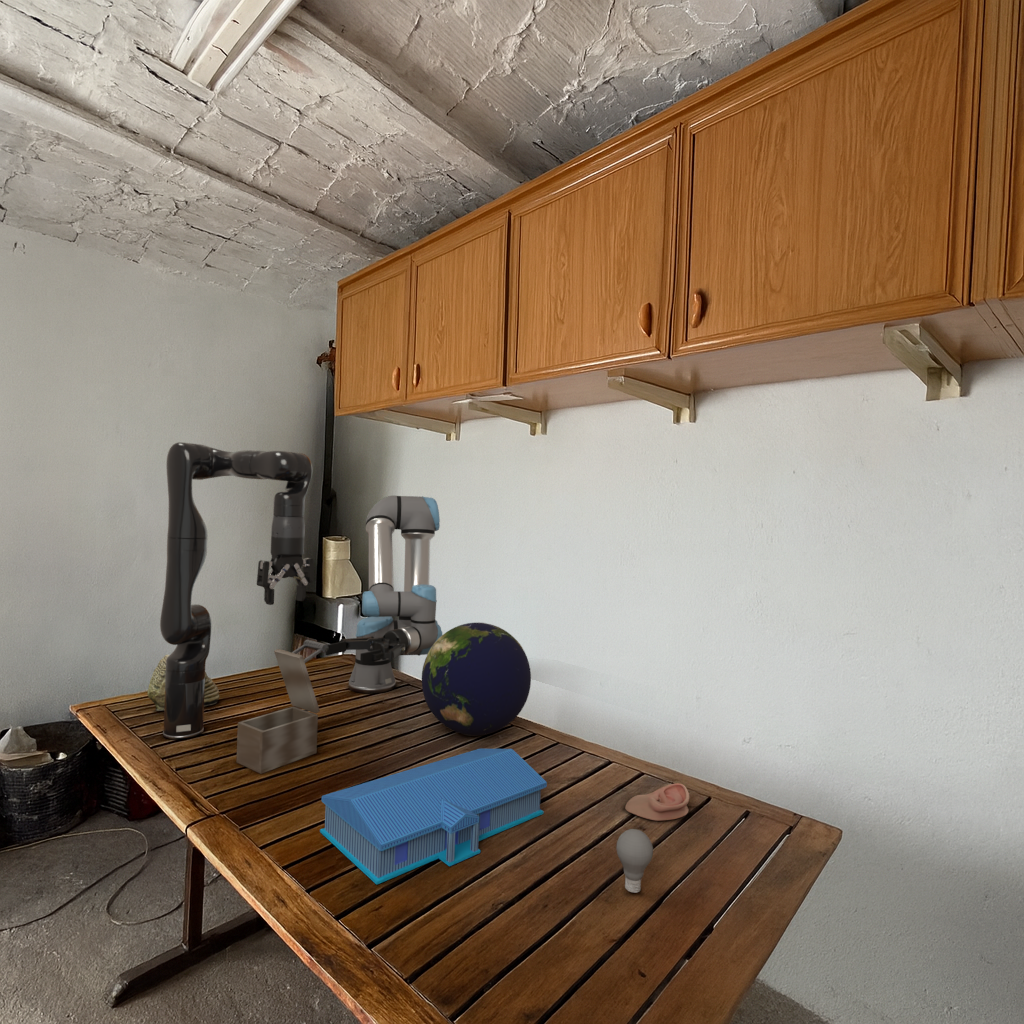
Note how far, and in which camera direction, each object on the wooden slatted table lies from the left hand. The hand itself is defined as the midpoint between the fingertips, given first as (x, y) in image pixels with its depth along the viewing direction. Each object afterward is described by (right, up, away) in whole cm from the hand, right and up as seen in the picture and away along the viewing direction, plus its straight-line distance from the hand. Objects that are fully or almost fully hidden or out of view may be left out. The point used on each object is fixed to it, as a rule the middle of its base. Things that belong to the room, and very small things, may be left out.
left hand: (285, 602), depth 152 cm
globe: (+44, -39, +22) cm, 63 cm away
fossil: (-42, -35, +33) cm, 64 cm away
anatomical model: (+85, -42, -17) cm, 96 cm away
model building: (+40, -40, -28) cm, 63 cm away
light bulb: (+75, -42, -46) cm, 97 cm away
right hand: (+10, -16, +16) cm, 24 cm away
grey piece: (+1, -20, +3) cm, 20 cm away
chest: (-2, -37, 0) cm, 38 cm away
